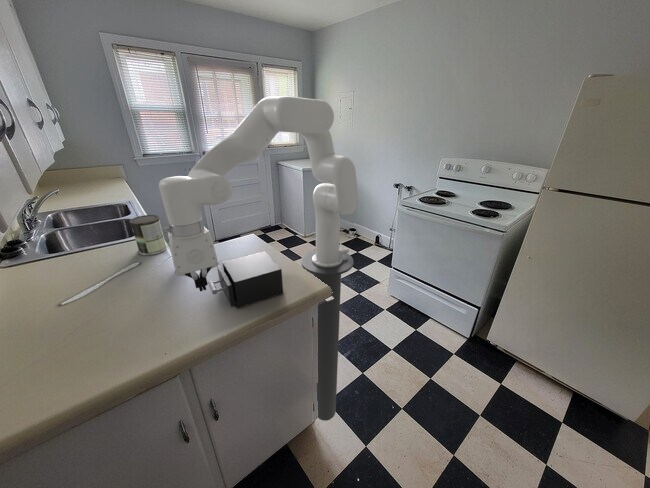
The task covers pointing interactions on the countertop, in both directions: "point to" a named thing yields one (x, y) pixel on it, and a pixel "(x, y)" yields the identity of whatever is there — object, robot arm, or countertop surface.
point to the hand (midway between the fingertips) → (202, 288)
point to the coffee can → (148, 234)
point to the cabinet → (254, 278)
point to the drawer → (224, 285)
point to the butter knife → (99, 284)
